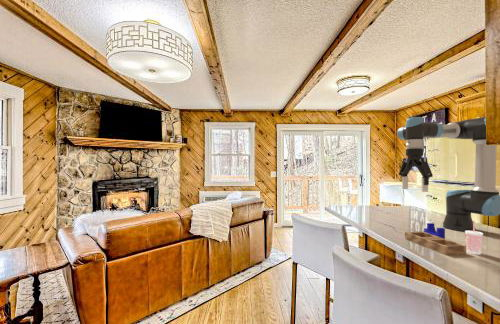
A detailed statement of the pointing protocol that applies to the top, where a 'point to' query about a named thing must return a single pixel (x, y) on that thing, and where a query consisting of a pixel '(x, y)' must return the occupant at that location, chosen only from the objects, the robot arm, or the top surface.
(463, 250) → the wooden holder tray
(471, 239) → the beverage cup
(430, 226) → the blue notched block
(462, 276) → the top surface
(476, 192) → the robot arm
